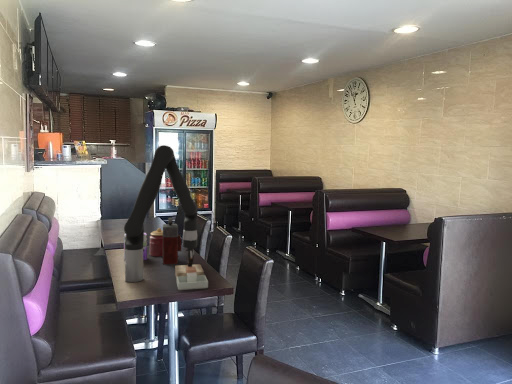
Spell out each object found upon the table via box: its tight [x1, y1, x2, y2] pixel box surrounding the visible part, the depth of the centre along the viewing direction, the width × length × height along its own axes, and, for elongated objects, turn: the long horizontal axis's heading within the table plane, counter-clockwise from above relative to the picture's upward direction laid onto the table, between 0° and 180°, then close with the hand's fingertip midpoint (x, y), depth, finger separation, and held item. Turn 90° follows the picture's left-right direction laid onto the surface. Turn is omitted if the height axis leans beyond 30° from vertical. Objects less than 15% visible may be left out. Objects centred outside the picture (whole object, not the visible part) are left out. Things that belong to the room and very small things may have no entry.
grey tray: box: [176, 274, 209, 291], centre depth 210 cm, size 15×11×4 cm
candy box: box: [123, 232, 148, 262], centre depth 254 cm, size 14×6×16 cm, turn 112°
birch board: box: [174, 263, 205, 280], centre depth 222 cm, size 14×14×5 cm
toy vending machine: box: [162, 217, 182, 265], centre depth 250 cm, size 9×11×28 cm
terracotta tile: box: [186, 266, 196, 274], centre depth 215 cm, size 5×5×2 cm
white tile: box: [187, 272, 197, 282], centre depth 212 cm, size 5×5×2 cm
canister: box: [148, 227, 163, 257], centre depth 268 cm, size 13×13×18 cm
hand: (189, 269), depth 219 cm, fingers closed
